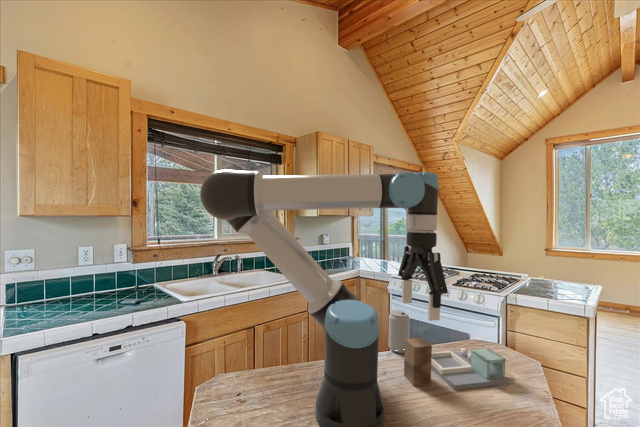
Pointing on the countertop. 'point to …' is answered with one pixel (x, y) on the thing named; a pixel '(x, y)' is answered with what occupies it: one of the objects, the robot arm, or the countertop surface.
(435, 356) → the jig board
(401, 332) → the beverage can
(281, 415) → the countertop surface
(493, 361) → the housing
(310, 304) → the robot arm
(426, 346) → the block
